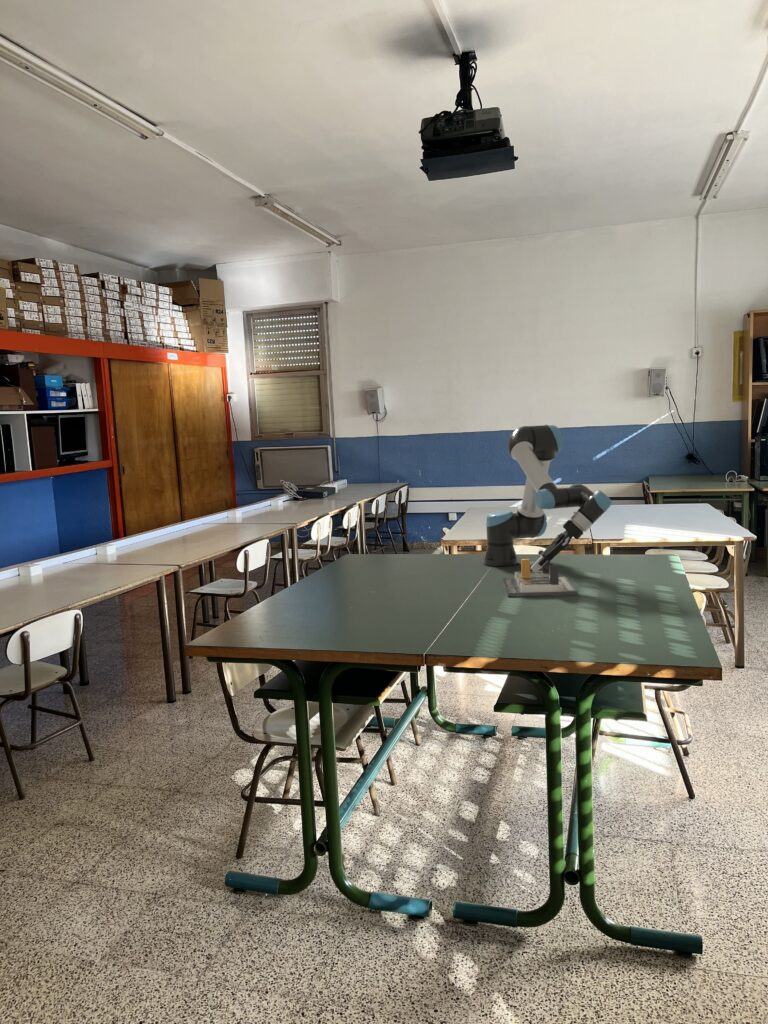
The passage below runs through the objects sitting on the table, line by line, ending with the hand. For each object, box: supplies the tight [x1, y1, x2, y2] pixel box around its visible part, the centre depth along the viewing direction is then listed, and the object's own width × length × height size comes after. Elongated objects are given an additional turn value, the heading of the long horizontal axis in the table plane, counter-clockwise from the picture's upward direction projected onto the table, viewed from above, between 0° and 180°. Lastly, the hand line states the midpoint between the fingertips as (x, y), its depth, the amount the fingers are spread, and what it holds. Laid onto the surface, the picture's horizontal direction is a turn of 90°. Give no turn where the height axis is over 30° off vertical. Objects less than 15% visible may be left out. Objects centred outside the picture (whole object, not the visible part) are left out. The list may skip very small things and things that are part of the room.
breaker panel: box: [501, 560, 578, 598], centre depth 284 cm, size 25×25×11 cm
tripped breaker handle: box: [520, 558, 531, 578], centre depth 285 cm, size 2×3×7 cm
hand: (532, 570), depth 284 cm, fingers closed
